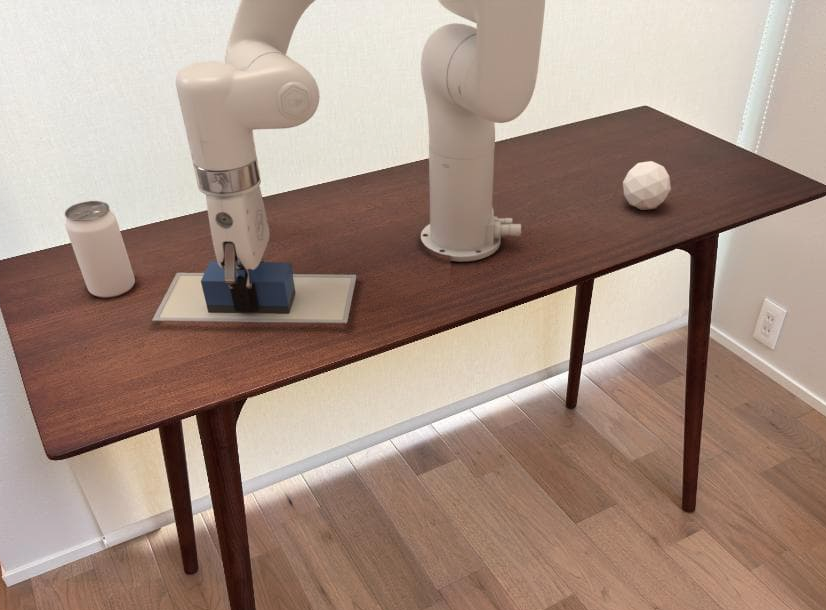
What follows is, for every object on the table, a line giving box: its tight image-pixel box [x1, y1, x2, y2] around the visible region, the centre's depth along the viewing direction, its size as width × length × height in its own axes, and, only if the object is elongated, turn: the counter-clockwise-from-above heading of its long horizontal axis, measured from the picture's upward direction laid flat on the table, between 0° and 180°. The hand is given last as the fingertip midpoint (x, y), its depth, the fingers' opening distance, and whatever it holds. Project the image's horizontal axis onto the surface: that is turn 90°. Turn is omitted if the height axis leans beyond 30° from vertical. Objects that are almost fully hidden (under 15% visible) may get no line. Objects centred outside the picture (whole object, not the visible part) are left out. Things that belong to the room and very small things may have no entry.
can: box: [64, 200, 136, 299], centre depth 108 cm, size 6×6×12 cm
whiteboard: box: [151, 272, 357, 324], centre depth 109 cm, size 26×12×1 cm, turn 90°
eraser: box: [201, 260, 296, 314], centre depth 106 cm, size 11×5×5 cm, turn 89°
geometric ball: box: [622, 160, 672, 211], centre depth 131 cm, size 8×8×8 cm
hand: (251, 297), depth 107 cm, fingers closed on eraser, 5 cm apart
